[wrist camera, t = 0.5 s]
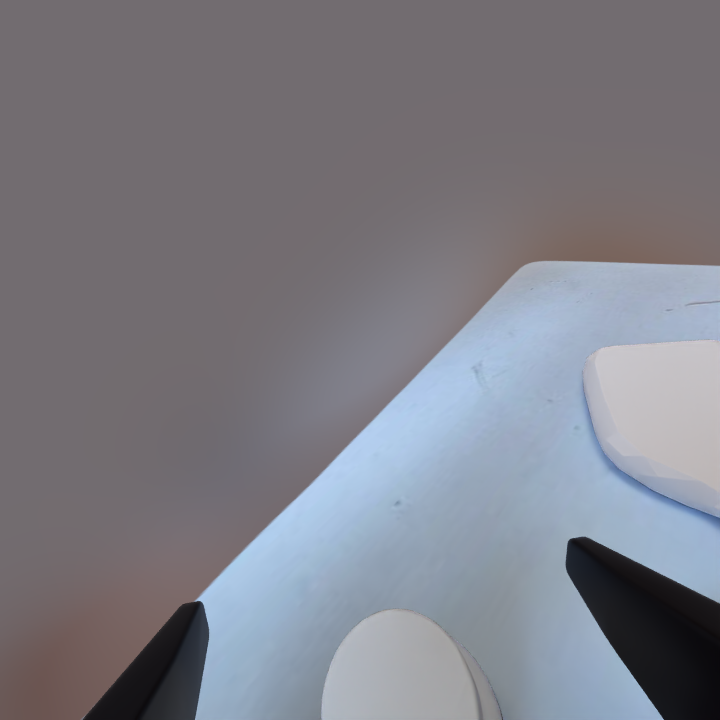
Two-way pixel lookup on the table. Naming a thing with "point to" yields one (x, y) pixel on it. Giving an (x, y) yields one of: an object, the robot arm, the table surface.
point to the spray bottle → (660, 416)
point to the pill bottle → (405, 674)
